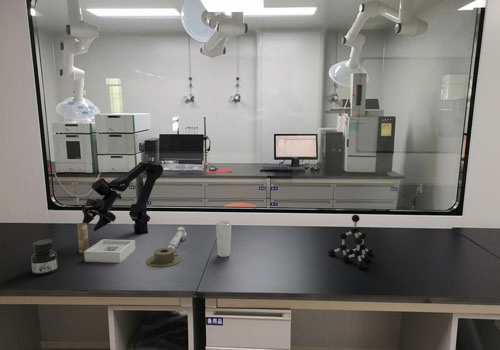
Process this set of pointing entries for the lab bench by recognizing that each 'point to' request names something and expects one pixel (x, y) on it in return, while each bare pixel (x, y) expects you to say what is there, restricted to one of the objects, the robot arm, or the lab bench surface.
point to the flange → (164, 258)
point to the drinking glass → (223, 237)
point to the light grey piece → (177, 238)
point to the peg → (83, 237)
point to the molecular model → (358, 250)
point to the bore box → (110, 251)
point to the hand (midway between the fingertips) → (87, 229)
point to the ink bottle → (44, 257)
